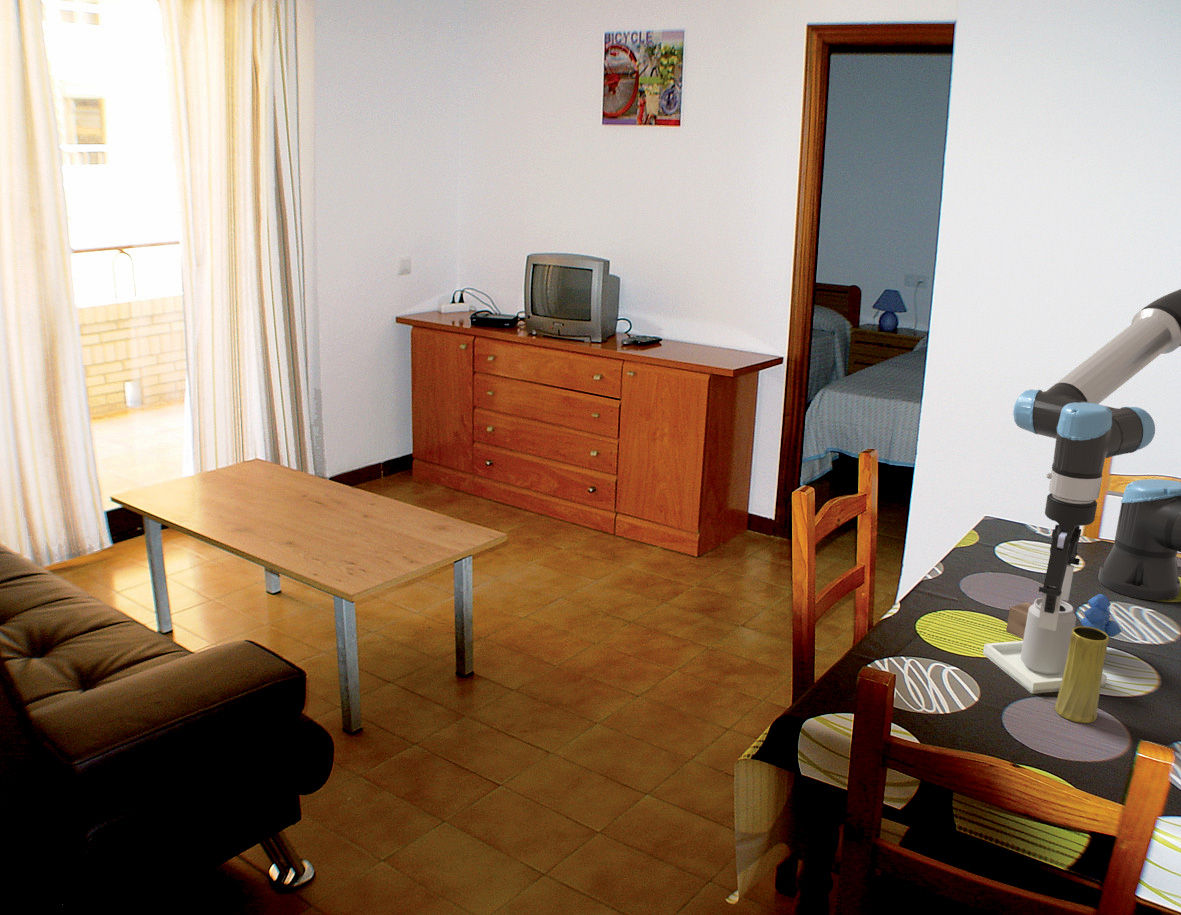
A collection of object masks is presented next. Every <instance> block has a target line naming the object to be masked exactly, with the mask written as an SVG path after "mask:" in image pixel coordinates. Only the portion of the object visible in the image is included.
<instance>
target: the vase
mask: <svg viewBox="0 0 1181 915" xmlns="http://www.w3.org/2000/svg"><path fill="white" fill-rule="evenodd" d="M1109 641H1110V637H1109V636H1108V635H1107V634H1106V633H1105V632H1104V631H1102V630H1099V629H1097V628H1093V627H1087V626H1083V625H1078V626H1075V628H1073V629H1072V633H1071V637H1070V643H1069V649H1068V655H1067V661H1066V664H1065V669H1064V674H1063V678H1062V682H1061V685H1060V689H1059V691H1058V694H1057V698H1056V703H1055V705H1054V709H1055V712H1056V713H1057V714H1058V715H1059V716H1060V717H1062V718H1064V719H1065V720H1068V721H1070V722H1073V723H1074V722H1075V723H1080V724H1090V723H1094V722H1095V721H1096V720H1097V718H1098V707H1099V701H1100V700H1099V699H1100V693H1101V688H1102V687H1101V679H1102V673H1103V671H1104V666H1105V660H1106V656H1107V649H1108V644H1109Z"/></svg>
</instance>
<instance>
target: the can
mask: <svg viewBox="0 0 1181 915" xmlns="http://www.w3.org/2000/svg"><path fill="white" fill-rule="evenodd" d="M1041 604H1042V597H1039V598H1036V599H1035V600H1033V604H1032V605H1031V606H1030V607H1029V610H1028V616H1027V621H1026V627H1025V633H1024V639H1022V641H1023V644H1022V650H1021V656H1020V657H1021V660H1022V662H1023V663H1024V664H1025V665H1026V667H1027V668H1029V669H1030V670H1032V671H1034V672H1037V673H1040V674H1046V675H1056V674H1059V673H1060V672H1063V671H1064V669H1065V664H1066V661H1067V655H1068V649H1069V643H1070V637H1071V633H1072V629H1073V628H1075V627H1076V621H1077V615H1076V614H1075V613H1074V610H1075V609H1074V606H1073V605H1071V604H1070V603H1068V601H1065V600H1061V603H1060V609H1059V615H1058V621H1057V627H1056V631H1053V630H1049V629H1044V628H1040V627H1038V623H1039V616H1040V610H1041Z"/></svg>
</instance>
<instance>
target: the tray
mask: <svg viewBox="0 0 1181 915" xmlns="http://www.w3.org/2000/svg"><path fill="white" fill-rule="evenodd" d="M1022 644H1023V640H1013V641H1006V642H1005V641H1002V642H992V643H984V644H983V645H984V646H983V651H982V655H983V656H985V657H986V658H987V659H988V660H990V661H991V662H992V663H994V664H995V665H996V666H997V667H999V669H1001V670H1002V672H1004V673H1006V674H1007V675H1008V676H1009V677H1010V678H1012V679H1013V680H1014V681H1016V682H1017V683H1018V684H1019V685H1020V686H1022V687H1023V688H1024V689H1025V690H1026V691H1028V692H1029V693H1030V694H1031V695H1032V694H1043V693H1053V692H1059V689H1060V685H1061V682H1062V678H1063V674H1064V671H1063V672H1060V673H1059V674H1056V675H1046V674H1040V673H1037V672H1034V671H1032V670H1030V669H1029V668H1027V667H1026V665H1025V664H1024V663H1023V662H1022V660H1021V657H1020V656H1021V650H1022ZM1107 677H1108V675H1106V674H1105V673H1103V672H1102V679H1101V687H1100V688H1103V687H1105V688H1106V684H1107V683H1106V682H1107Z"/></svg>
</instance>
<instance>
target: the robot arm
mask: <svg viewBox="0 0 1181 915" xmlns="http://www.w3.org/2000/svg"><path fill="white" fill-rule="evenodd" d="M1179 347H1181V288H1180V289H1177V290H1174V291H1172V292H1170V293H1168V294H1166V295H1163V296H1161V297H1159V298H1157V299H1156V300H1154V301H1152V302H1150V303H1148V304H1147V305H1146V306H1145V307H1143V308H1142V309H1140V310H1139V311H1137V313H1135V314H1134V316H1133V318H1132V320H1131V324H1130V325H1129V326H1127V327H1125V329H1124V330H1123V331H1121V332H1120V333H1119V334H1118V335H1116V336H1115V337H1114V338H1112V339H1111V340H1110V341H1108V342H1107V343H1106V344H1104V345H1103V346H1102V347H1101V348H1100V349H1098V350H1097V351H1096V352H1094V353H1093V354H1092V355H1091V356H1089V357H1088V358H1087V359H1086V360H1084V361H1083V362H1082V363H1080V364H1079V365H1078V366H1076V367H1075V368H1074V369H1073V370H1071V371H1070V372H1069V373H1068V374H1066V375H1065V376H1064V377H1063V378H1061V379H1060V380H1058V381H1057V382H1056V383H1055V384H1054V385H1052V386H1051V387H1049V388H1048V389H1047V390H1045V391H1043V390H1042V389H1029V390H1024V391H1023V392H1021V394H1020V395H1019V396H1018V398H1017V399H1016V401H1015V403H1014V406H1013V413H1012V415H1013V421H1014V422H1015V425H1016V426H1017V427H1018V428H1020V429H1022V430H1025V431H1027V432H1030V433H1033V434H1035V435H1040V436H1045V437H1049V438H1052V439H1055V443H1054V444H1055V446H1054V454H1053V460H1052V465H1051V473H1050V472H1048V473H1047V474H1046V479H1049V480H1050V481H1049V485H1048V486H1049V487H1048V491H1049V494H1048V495H1047V496H1046V502H1045V508H1044V514H1045V517H1047V519H1049V520H1051V521H1054V522H1056V523H1057V524H1055V526H1054V529H1052V533H1051V545H1050V549H1049V552H1050V553H1049V554H1050V555H1049V558H1048V564H1047V568H1046V571H1045V572H1046V573H1045V577H1044V583H1043V587H1042V586H1039V588H1038V592H1039V593H1042V597H1041V598H1042V604H1041V610H1040V616H1039V623H1038V627H1040V628H1044V629H1049V630H1053V631H1056V627H1057V621H1058V615H1059V609H1060V603H1061V600H1062V601H1065V602H1068V601H1069V600H1070V594H1071V587H1072V581H1073V576H1074V569H1075V565H1076V566H1079V565H1080V560H1081V559H1080V558H1077V556H1078V554H1079V553H1078V548H1079V547H1078V546H1079V541H1080V538H1081V535H1082V528H1080V527H1081V526H1088V525H1092V524H1093V523H1094V521H1095V519H1096V514H1097V507H1098V502H1097V499H1099V497H1100V493H1101V492H1100V491H1101V487H1102V480H1103V470H1104V466H1105V461H1106V460H1105V459H1109V458H1112V457H1115V456H1121V455H1122V456H1123V455H1126V454H1133V453H1134V452H1137V451H1139V450H1141V449H1143V448H1146V447H1147V446H1149V444H1150V443H1151V442H1152V441H1153V440H1154V437H1155V434H1156V424H1155V421H1154V419H1153V417H1152V416H1151V415H1150V413H1149V412H1148V411H1146V410H1145V409H1143V408H1140V407H1137V406H1130V407H1129V406H1122V407H1120V408H1117V407H1112V406H1107V405H1102V404H1101V402H1103V401H1104V400H1105V399H1107V398H1108V397H1109V396H1111V395H1112V394H1113V393H1114V392H1116V390H1118V389H1119V388H1121V387H1122V386H1123V385H1124V384H1125V383H1127V382H1128V381H1129V380H1131V379H1132V378H1133V377H1134V376H1135V375H1137V374H1138V373H1139V372H1140V371H1141V370H1143V369H1144V368H1145V367H1147V366H1148V365H1149V364H1151V363H1152V362H1153V361H1155V359H1156V358H1158V357H1159V356H1160V355H1162V354H1170V353H1173V352H1174V351H1175V350H1176V349H1178V348H1179ZM1120 503H1121V505H1120V510H1119V515H1118V520H1117V526H1116V531H1115V536H1114V542H1113V545H1112V548H1111V550H1110V551H1109V553H1108V555H1107V557H1106V558H1105V560H1104V562H1103V563H1102V564H1101V566H1100V568H1099V572H1098V574H1097V575H1098V577H1097V579H1098V582H1099V584H1101V585H1102V586H1104V587H1105V588H1106V589H1109V590H1111V591H1113V592H1115V593H1118V594H1121V595H1123V596H1127V597H1131V598H1136V599H1140V600H1141V599H1142V600H1146V601H1169V600H1174V599H1176V598H1177V597H1178V596H1179V595H1180V594H1179V593H1180V589H1181V580H1180V576H1179V567H1178V562H1177V557H1178V553H1181V481H1177V480H1169V479H1161V478H1160V479H1159V478H1157V479H1156V478H1155V479H1154V478H1152V479H1151V478H1149V479H1148V478H1146V479H1139V480H1133V481H1132V482H1129V483H1128V484H1127V485H1126V486H1125V489H1124V491H1123V495H1122V498H1121V500H1120Z"/></svg>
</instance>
